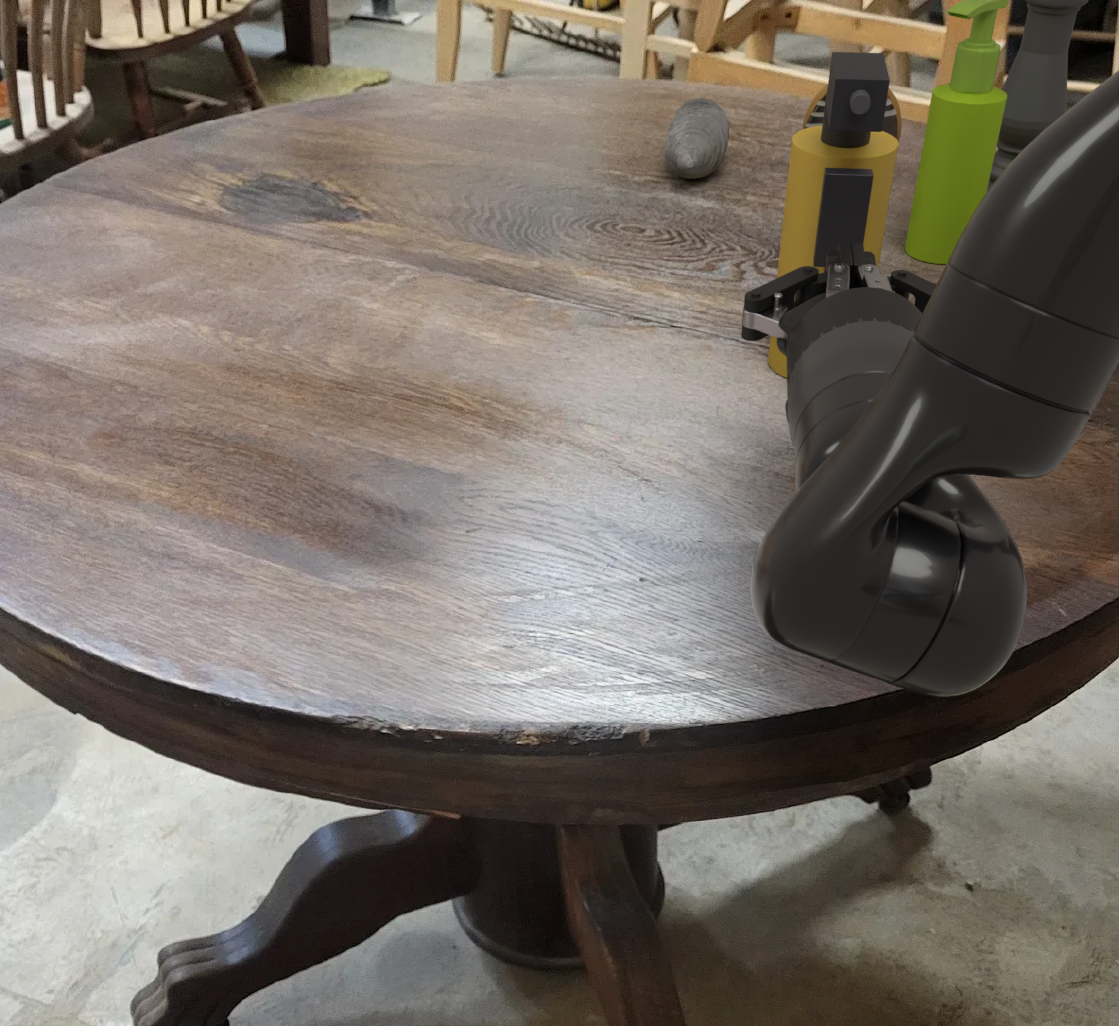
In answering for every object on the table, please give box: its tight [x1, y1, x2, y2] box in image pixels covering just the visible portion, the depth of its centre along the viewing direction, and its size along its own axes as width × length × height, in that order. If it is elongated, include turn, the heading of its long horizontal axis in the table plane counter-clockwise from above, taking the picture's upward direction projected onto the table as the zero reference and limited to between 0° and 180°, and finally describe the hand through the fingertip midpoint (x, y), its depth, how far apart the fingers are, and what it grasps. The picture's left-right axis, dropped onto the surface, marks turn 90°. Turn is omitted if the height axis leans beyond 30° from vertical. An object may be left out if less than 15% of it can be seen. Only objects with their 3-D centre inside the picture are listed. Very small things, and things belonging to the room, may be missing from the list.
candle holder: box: [987, 0, 1089, 192], centre depth 105 cm, size 6×6×25 cm
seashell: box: [664, 97, 730, 180], centre depth 122 cm, size 6×14×8 cm, turn 172°
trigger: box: [813, 168, 874, 267], centre depth 79 cm, size 3×1×6 cm, turn 82°
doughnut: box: [802, 83, 903, 143], centre depth 119 cm, size 9×4×10 cm, turn 77°
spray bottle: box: [767, 51, 899, 379], centre depth 83 cm, size 7×11×22 cm, turn 172°
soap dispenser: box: [904, 0, 1009, 265], centre depth 101 cm, size 6×7×20 cm
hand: (847, 258), depth 74 cm, fingers closed
